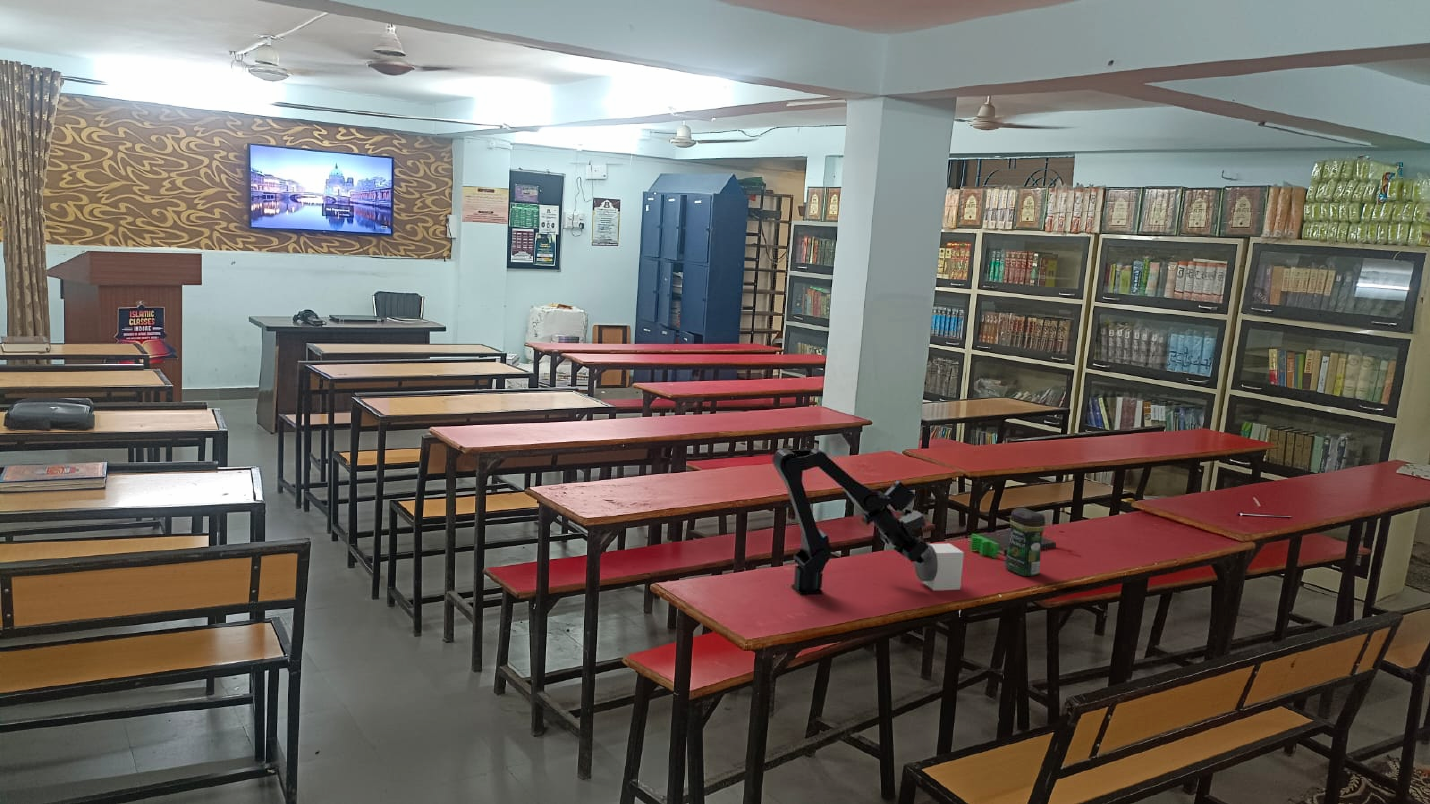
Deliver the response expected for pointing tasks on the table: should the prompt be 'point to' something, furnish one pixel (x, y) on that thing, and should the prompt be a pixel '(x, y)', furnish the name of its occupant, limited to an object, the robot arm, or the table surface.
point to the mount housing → (947, 568)
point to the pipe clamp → (984, 546)
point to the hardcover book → (1005, 537)
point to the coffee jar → (1025, 542)
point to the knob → (927, 565)
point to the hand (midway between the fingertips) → (921, 561)
